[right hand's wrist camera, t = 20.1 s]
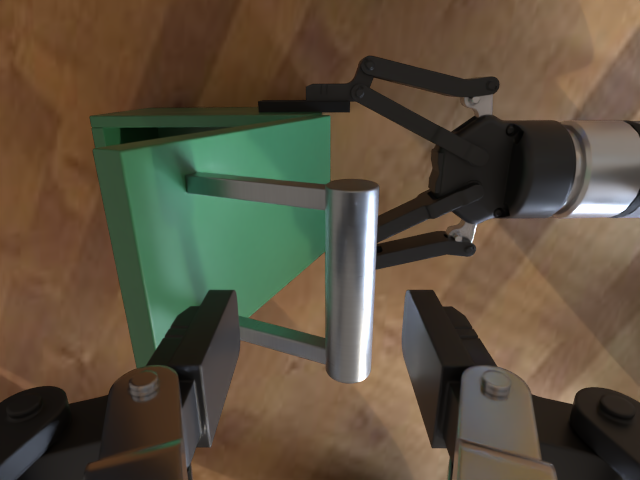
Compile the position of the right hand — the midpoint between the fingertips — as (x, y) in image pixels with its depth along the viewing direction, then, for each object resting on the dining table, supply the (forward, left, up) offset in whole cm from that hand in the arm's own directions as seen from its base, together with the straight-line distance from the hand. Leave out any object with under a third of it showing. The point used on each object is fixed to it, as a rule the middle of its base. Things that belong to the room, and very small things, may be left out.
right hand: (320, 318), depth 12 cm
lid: (0, +4, -10) cm, 10 cm away
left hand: (0, +4, -21) cm, 22 cm away
